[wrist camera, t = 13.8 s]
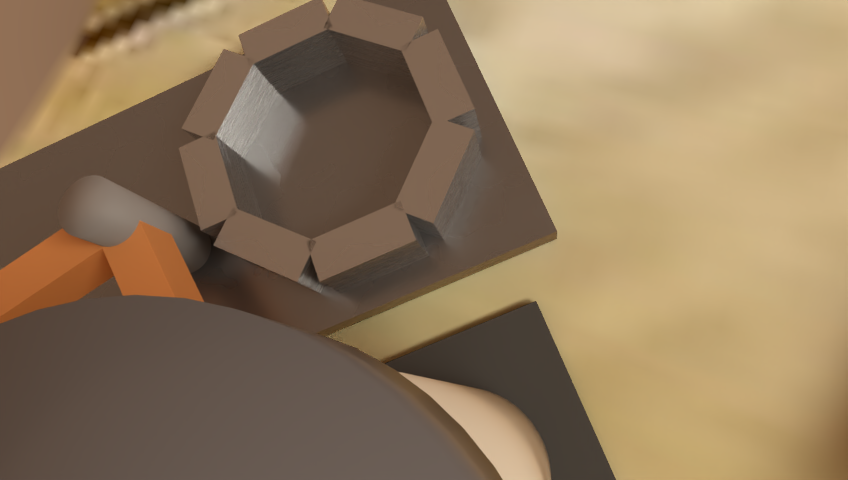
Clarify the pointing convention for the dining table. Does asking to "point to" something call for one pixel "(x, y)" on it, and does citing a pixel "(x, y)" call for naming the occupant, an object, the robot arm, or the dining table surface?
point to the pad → (520, 384)
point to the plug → (234, 403)
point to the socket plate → (313, 166)
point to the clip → (106, 251)
